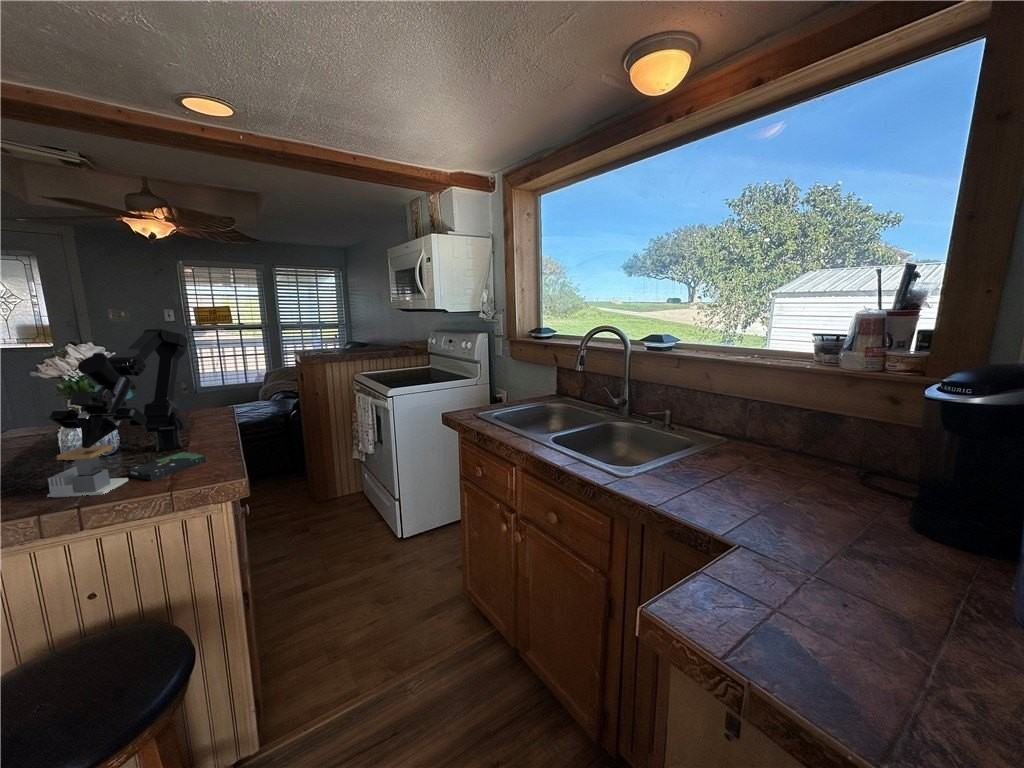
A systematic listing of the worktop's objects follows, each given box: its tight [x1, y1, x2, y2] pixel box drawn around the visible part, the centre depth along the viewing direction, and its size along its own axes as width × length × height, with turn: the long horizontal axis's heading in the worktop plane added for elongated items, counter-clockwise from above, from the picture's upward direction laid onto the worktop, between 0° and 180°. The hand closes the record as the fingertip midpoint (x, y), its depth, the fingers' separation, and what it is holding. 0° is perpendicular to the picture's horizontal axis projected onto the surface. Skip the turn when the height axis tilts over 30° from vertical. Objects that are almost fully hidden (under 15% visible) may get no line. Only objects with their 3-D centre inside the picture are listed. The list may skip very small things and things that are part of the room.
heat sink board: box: [46, 466, 129, 498], centre depth 106 cm, size 8×12×5 cm
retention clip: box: [56, 444, 114, 475], centre depth 104 cm, size 7×7×6 cm
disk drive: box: [127, 451, 208, 482], centre depth 119 cm, size 10×3×15 cm
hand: (85, 447), depth 103 cm, fingers closed
